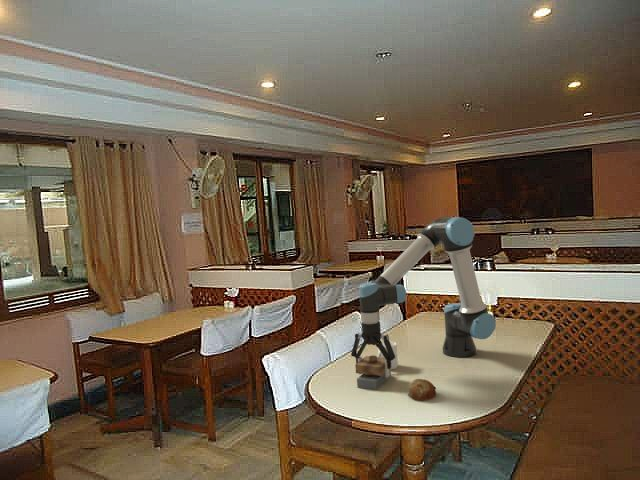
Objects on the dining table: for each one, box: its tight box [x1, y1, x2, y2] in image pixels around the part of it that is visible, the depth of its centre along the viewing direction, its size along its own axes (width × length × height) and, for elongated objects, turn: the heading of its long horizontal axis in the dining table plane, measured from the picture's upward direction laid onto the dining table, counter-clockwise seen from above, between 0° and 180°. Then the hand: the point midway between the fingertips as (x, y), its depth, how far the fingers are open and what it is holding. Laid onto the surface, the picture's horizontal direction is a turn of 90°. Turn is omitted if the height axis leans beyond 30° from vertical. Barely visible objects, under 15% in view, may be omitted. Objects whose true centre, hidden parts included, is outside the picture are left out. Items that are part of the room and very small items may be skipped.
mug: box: [377, 341, 399, 371], centre depth 206 cm, size 12×8×10 cm
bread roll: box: [407, 378, 437, 402], centre depth 175 cm, size 10×10×8 cm
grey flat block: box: [356, 369, 392, 391], centre depth 192 cm, size 8×16×4 cm, turn 151°
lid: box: [354, 354, 386, 376], centre depth 192 cm, size 11×11×6 cm
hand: (374, 374), depth 192 cm, fingers closed on lid, 11 cm apart
